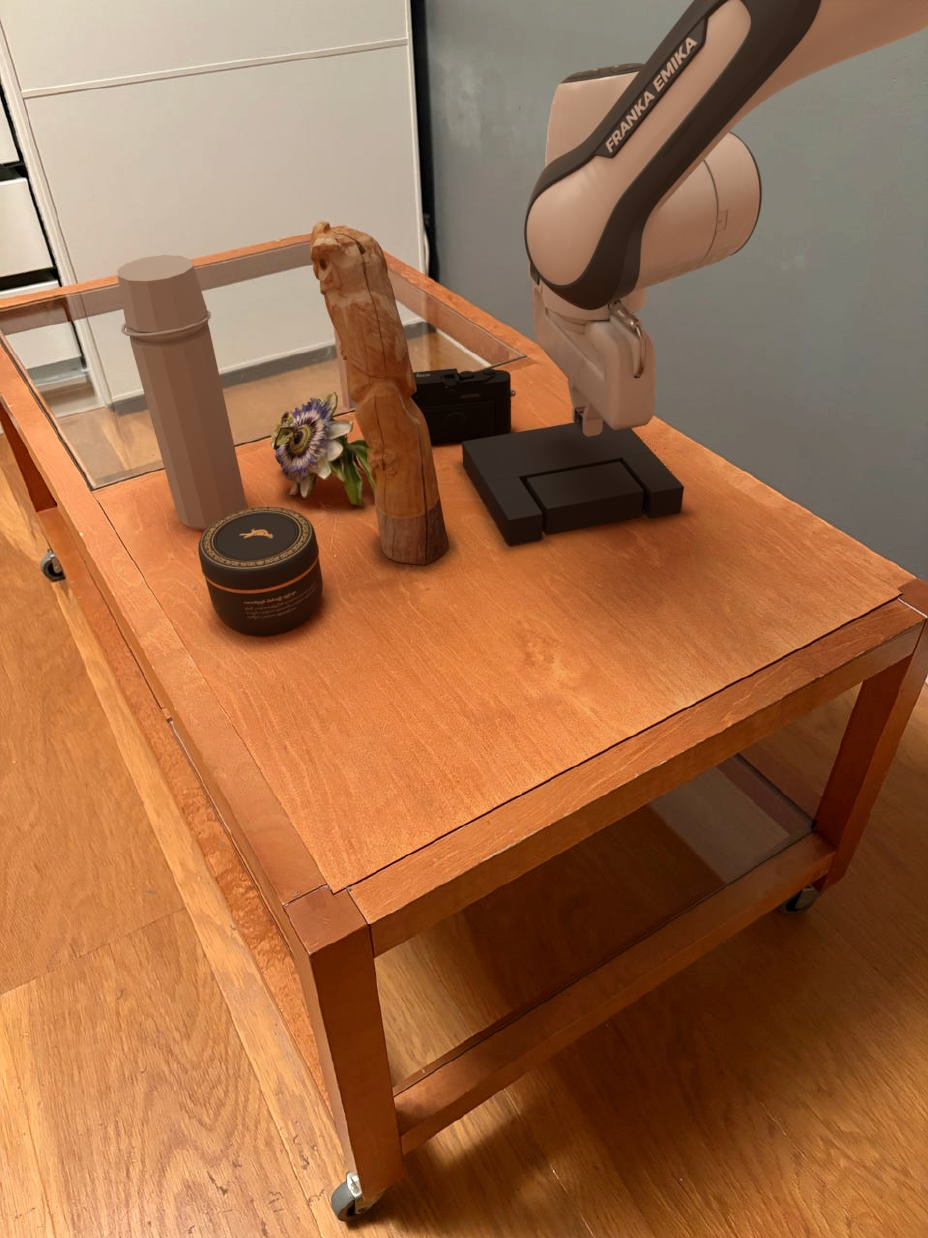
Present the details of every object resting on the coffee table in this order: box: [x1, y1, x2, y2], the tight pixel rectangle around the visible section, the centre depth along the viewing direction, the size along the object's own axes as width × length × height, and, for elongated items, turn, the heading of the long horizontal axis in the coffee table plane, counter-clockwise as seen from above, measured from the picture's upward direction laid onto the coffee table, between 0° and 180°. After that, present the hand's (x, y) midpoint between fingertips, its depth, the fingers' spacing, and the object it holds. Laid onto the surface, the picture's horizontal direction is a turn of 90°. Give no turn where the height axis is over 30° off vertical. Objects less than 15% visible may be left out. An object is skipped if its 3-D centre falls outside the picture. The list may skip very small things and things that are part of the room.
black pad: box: [527, 462, 644, 536], centre depth 94 cm, size 10×6×3 cm, turn 106°
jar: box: [197, 506, 324, 638], centre depth 82 cm, size 10×10×8 cm
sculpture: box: [309, 220, 450, 566], centre depth 81 cm, size 7×9×30 cm
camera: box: [411, 367, 517, 447], centre depth 106 cm, size 14×7×8 cm, turn 98°
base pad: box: [461, 419, 685, 547], centre depth 97 cm, size 18×16×3 cm
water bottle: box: [116, 254, 248, 531], centre depth 89 cm, size 9×8×25 cm
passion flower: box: [270, 391, 376, 508], centre depth 98 cm, size 11×11×12 cm
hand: (586, 428), depth 89 cm, fingers closed
